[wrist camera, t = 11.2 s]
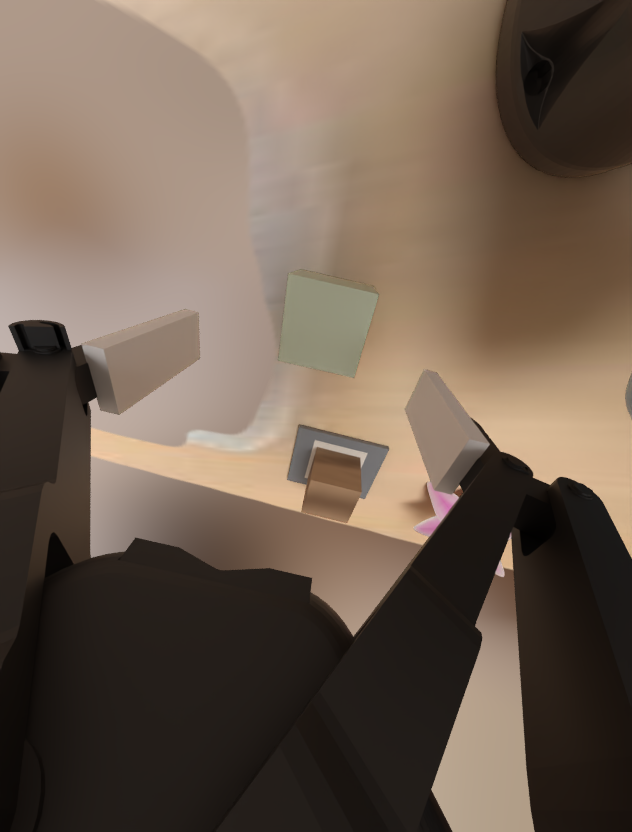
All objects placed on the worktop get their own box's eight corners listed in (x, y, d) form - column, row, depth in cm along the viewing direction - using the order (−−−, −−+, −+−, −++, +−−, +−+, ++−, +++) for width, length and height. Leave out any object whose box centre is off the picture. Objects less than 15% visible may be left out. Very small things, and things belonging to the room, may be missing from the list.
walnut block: (316, 446, 35) (311, 479, 30) (360, 457, 35) (361, 492, 30) (308, 477, 38) (301, 512, 33) (347, 487, 38) (347, 523, 33)
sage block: (301, 269, 24) (288, 273, 19) (373, 285, 24) (379, 294, 19) (291, 341, 28) (277, 360, 23) (353, 355, 28) (354, 378, 23)
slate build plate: (299, 424, 34) (298, 427, 33) (388, 446, 34) (389, 449, 33) (288, 477, 39) (287, 480, 39) (364, 495, 39) (364, 499, 39)
